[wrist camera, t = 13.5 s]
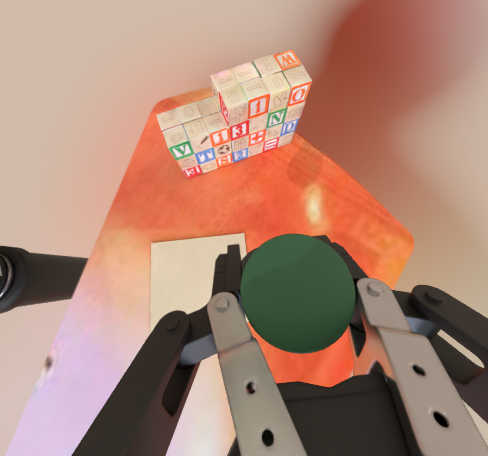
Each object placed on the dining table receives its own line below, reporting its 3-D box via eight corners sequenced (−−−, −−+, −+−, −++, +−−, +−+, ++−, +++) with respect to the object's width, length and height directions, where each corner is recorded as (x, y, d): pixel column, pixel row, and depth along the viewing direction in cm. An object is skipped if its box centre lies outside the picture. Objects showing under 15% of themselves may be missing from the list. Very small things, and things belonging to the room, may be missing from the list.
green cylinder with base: (238, 320, 16) (225, 389, 6) (232, 251, 18) (214, 222, 8) (308, 313, 16) (399, 371, 6) (296, 244, 18) (356, 208, 8)
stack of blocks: (187, 180, 35) (156, 132, 23) (177, 153, 36) (143, 94, 24) (291, 142, 37) (313, 79, 25) (278, 117, 38) (293, 46, 26)
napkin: (151, 332, 29) (150, 332, 29) (151, 243, 32) (151, 243, 32) (253, 320, 29) (254, 321, 29) (244, 233, 33) (244, 232, 32)
